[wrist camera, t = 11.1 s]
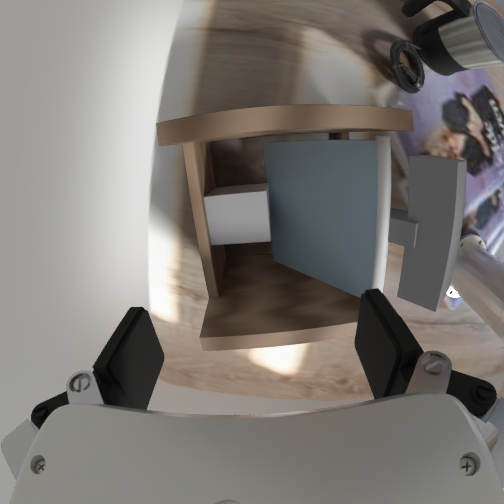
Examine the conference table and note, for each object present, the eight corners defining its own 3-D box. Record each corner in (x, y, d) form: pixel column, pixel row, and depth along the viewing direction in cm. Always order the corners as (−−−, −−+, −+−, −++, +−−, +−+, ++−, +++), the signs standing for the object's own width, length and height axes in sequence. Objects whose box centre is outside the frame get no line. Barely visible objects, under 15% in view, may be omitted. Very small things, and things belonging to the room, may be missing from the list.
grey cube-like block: (266, 191, 25) (203, 197, 26) (270, 241, 27) (211, 245, 27) (268, 182, 29) (215, 187, 30) (272, 225, 31) (221, 229, 32)
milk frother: (457, 44, 23) (516, 30, 9) (451, 121, 29) (520, 126, 15) (387, 1, 22) (437, -38, 8) (376, 80, 28) (441, 57, 14)
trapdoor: (466, 144, 15) (454, 142, 12) (446, 299, 21) (426, 331, 18) (300, 137, 31) (261, 139, 28) (306, 248, 37) (272, 263, 33)
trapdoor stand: (342, 120, 30) (411, 110, 15) (345, 256, 38) (395, 327, 22) (200, 131, 31) (156, 123, 16) (220, 269, 38) (203, 350, 23)
